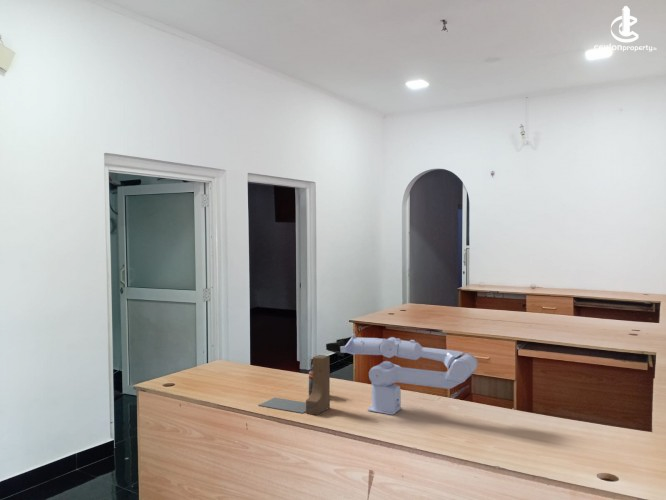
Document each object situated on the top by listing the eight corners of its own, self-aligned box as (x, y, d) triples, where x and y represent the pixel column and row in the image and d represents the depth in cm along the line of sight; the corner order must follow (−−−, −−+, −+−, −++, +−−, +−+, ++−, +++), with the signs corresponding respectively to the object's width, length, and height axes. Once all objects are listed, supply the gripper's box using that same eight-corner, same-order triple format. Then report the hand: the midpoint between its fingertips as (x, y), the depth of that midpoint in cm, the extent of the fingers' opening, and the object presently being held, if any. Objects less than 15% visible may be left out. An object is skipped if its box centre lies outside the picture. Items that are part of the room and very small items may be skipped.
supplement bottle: (317, 398, 188) (317, 368, 188) (305, 396, 192) (305, 365, 192) (327, 395, 193) (327, 364, 193) (315, 392, 197) (315, 362, 197)
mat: (317, 405, 181) (317, 404, 181) (302, 413, 172) (302, 412, 172) (274, 398, 189) (274, 397, 189) (258, 405, 180) (258, 405, 180)
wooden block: (317, 415, 170) (316, 361, 170) (305, 413, 172) (305, 359, 172) (330, 407, 178) (330, 355, 178) (318, 405, 180) (318, 354, 180)
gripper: (374, 331, 185) (340, 330, 192) (356, 338, 172) (321, 337, 179) (375, 350, 185) (341, 349, 192) (357, 359, 172) (322, 357, 179)
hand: (331, 344), depth 185 cm, fingers open, 7 cm apart
